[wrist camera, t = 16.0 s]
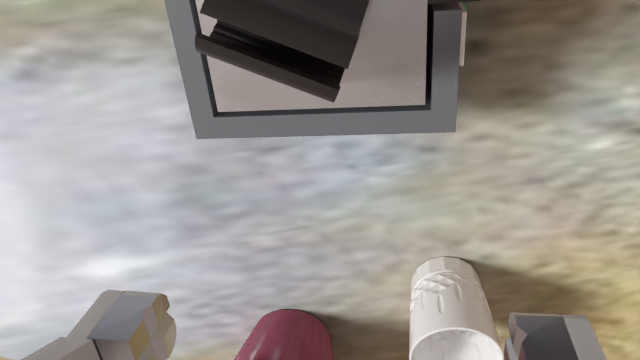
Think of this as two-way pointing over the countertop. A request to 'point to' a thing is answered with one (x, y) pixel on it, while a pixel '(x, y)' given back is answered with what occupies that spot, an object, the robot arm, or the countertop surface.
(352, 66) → the pan
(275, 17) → the phone stand
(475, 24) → the countertop surface
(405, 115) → the scale housing
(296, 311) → the plant pot
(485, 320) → the white cup
